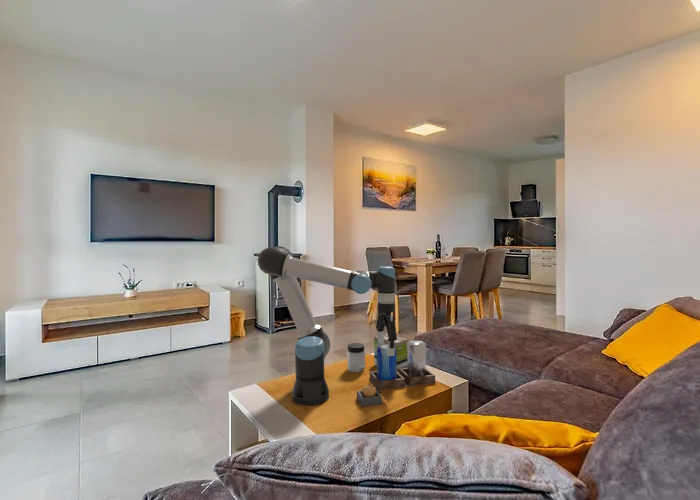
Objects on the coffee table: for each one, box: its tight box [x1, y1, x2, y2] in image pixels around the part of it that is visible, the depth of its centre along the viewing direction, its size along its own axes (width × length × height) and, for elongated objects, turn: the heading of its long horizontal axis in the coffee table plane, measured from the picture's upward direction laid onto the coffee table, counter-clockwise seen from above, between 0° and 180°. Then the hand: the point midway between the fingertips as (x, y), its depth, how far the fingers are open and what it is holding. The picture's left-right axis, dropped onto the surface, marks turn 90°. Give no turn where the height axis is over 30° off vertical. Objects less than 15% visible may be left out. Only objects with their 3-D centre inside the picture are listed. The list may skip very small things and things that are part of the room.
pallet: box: [368, 367, 437, 395], centre depth 158 cm, size 26×14×4 cm, turn 104°
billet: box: [407, 340, 427, 377], centre depth 160 cm, size 8×8×16 cm
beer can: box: [376, 344, 398, 381], centre depth 156 cm, size 8×8×16 cm
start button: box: [362, 384, 376, 398], centre depth 142 cm, size 5×5×3 cm
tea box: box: [373, 332, 410, 370], centre depth 180 cm, size 15×10×15 cm
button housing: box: [356, 389, 383, 408], centre depth 142 cm, size 8×8×3 cm
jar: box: [346, 342, 366, 373], centre depth 177 cm, size 9×8×12 cm
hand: (385, 350), depth 156 cm, fingers open, 13 cm apart
